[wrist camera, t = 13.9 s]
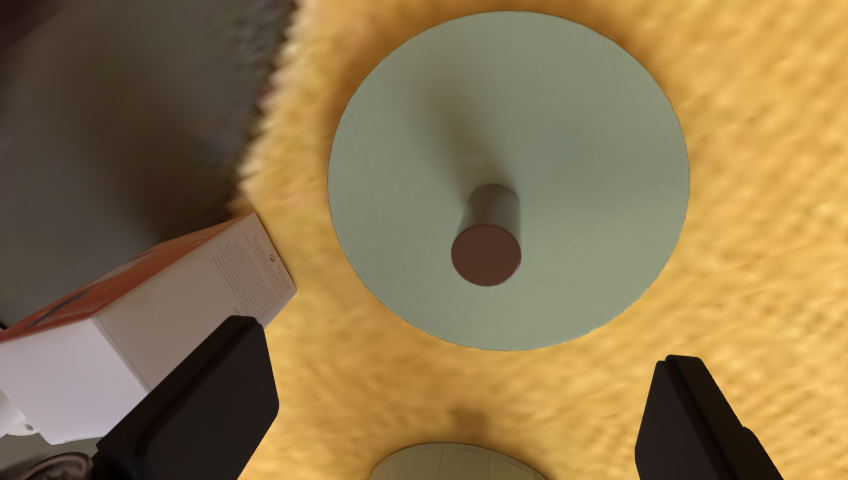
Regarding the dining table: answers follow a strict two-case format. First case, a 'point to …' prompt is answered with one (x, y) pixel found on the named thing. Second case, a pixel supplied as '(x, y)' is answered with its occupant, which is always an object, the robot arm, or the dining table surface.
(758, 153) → the dining table surface
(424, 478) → the casserole
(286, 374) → the dining table surface
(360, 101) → the pot lid
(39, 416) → the small box
